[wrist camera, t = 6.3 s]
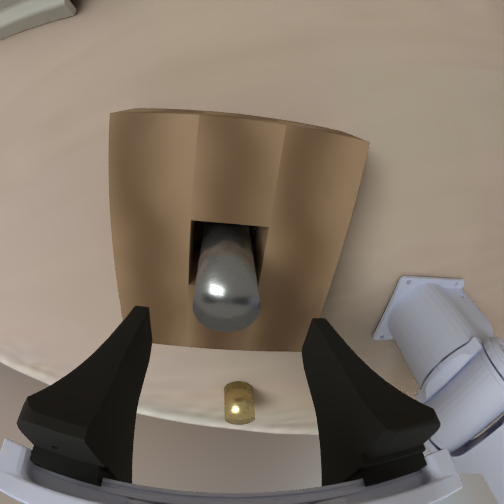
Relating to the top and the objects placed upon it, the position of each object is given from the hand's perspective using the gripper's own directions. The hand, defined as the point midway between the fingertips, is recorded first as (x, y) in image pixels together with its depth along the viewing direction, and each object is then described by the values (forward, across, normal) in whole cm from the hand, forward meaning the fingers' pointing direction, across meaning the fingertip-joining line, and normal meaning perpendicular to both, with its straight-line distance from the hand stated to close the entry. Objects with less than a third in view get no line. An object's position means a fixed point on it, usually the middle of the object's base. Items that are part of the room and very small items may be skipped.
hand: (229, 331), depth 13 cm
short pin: (+10, -3, +20) cm, 22 cm away
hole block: (+10, 0, 0) cm, 10 cm away
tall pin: (+10, 0, 0) cm, 10 cm away
